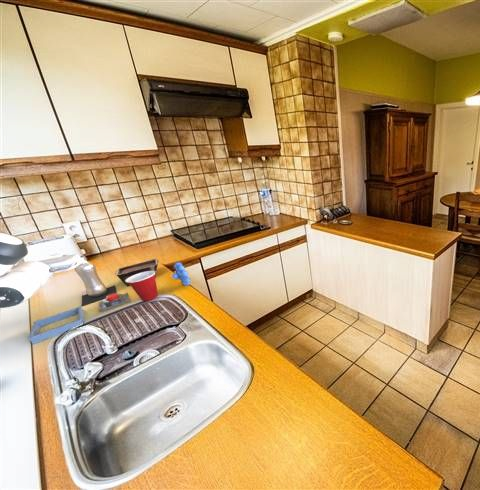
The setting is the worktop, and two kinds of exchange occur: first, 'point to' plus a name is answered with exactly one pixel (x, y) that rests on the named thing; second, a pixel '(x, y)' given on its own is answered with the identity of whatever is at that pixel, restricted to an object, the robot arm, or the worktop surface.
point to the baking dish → (136, 269)
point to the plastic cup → (144, 285)
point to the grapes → (181, 274)
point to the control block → (114, 302)
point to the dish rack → (39, 337)
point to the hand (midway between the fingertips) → (49, 259)
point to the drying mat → (88, 299)
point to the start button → (112, 296)
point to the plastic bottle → (90, 278)
